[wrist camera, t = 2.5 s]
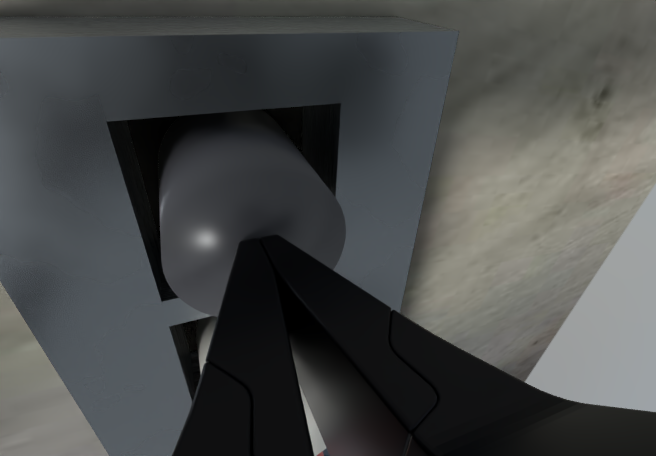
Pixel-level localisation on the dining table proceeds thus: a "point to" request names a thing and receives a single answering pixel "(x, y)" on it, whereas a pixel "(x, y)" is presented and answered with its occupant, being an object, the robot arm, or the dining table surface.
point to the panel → (131, 197)
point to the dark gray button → (236, 200)
